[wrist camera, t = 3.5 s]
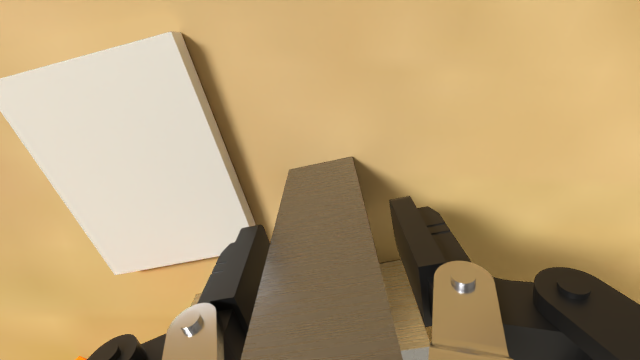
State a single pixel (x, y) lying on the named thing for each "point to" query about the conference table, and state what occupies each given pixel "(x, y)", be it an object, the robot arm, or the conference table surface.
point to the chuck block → (400, 312)
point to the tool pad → (132, 152)
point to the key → (322, 275)
